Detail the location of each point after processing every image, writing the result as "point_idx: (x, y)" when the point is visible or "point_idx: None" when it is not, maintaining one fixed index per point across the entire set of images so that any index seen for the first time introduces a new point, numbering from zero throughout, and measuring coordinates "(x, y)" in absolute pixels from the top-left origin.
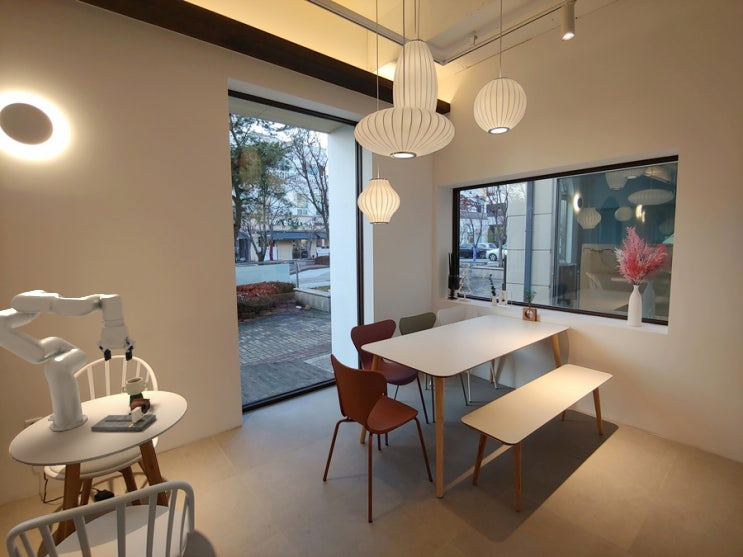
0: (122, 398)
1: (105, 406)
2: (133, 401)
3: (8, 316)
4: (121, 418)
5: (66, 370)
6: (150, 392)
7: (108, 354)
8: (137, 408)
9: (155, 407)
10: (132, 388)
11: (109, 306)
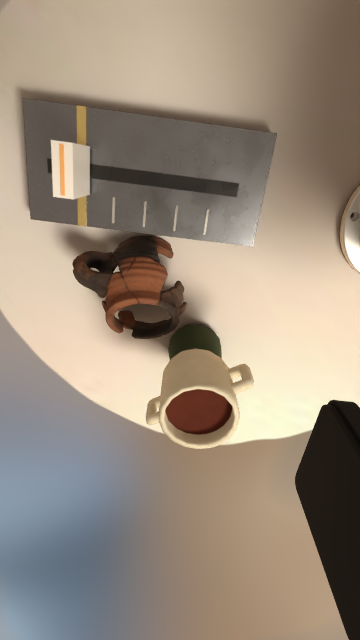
0: (284, 403)
1: (320, 351)
2: (157, 293)
3: None
4: (174, 205)
5: None
6: None
7: (347, 534)
8: (60, 179)
9: None
10: (190, 367)
11: None
